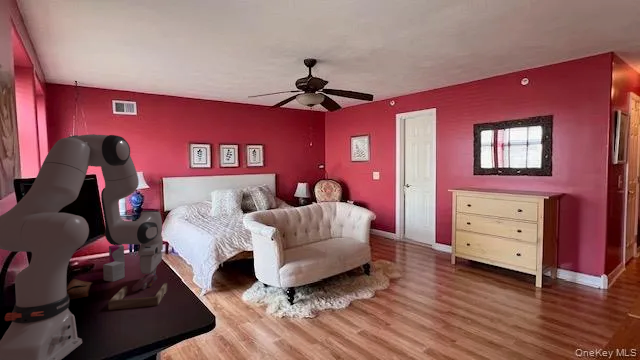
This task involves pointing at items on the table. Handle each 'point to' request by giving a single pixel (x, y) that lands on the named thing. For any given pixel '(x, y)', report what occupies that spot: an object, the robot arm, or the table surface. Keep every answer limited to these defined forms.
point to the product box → (113, 271)
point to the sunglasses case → (78, 289)
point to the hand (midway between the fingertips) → (152, 277)
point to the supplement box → (116, 253)
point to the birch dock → (135, 299)
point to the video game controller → (145, 282)
